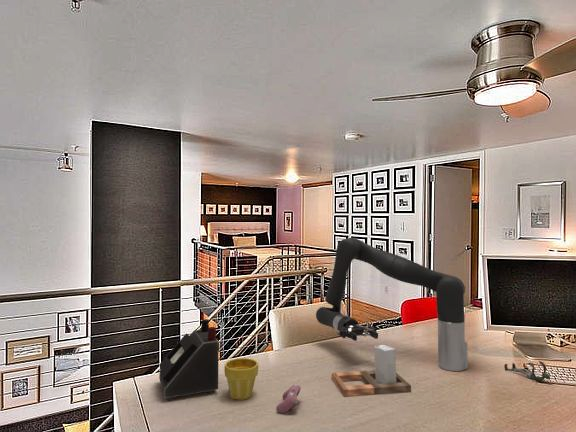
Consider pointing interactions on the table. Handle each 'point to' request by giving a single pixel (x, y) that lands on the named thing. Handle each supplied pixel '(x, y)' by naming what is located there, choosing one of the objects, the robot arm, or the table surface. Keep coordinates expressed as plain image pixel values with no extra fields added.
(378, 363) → the skincare box
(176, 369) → the voltmeter
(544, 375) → the zombie figurine
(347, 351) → the table surface
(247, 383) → the plant pot
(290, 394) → the video game controller
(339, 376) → the brown flat frame
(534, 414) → the table surface
